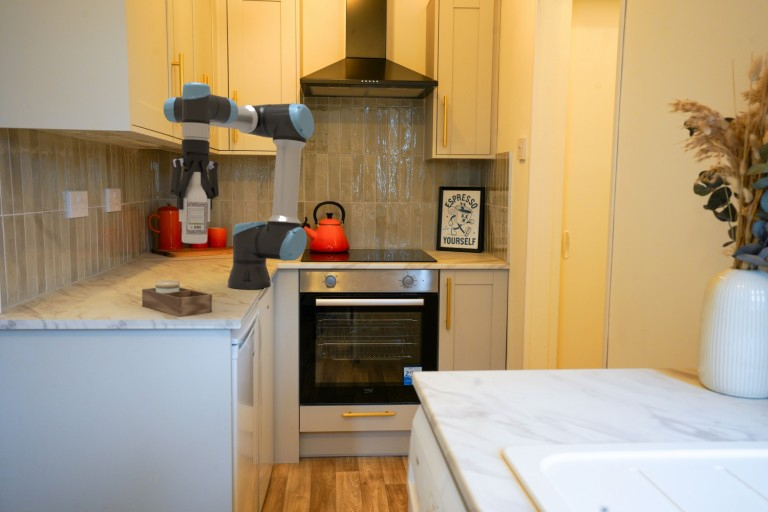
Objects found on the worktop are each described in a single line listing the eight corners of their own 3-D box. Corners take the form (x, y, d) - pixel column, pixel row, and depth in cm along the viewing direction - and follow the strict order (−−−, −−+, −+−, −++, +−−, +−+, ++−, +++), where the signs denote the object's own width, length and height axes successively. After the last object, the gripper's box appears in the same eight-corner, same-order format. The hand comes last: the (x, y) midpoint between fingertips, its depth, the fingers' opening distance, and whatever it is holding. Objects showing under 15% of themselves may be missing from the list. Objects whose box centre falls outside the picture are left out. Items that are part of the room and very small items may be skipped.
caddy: (174, 302, 202) (174, 285, 201) (211, 312, 189) (211, 294, 188) (142, 305, 194) (142, 289, 194) (179, 316, 181) (179, 298, 180)
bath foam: (211, 243, 188) (212, 172, 186) (190, 244, 183) (191, 171, 181) (198, 241, 192) (199, 172, 191) (177, 242, 187) (177, 171, 185)
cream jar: (171, 300, 199) (171, 280, 199) (184, 303, 195) (184, 282, 194) (151, 302, 194) (150, 281, 194) (163, 306, 190) (163, 284, 189)
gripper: (217, 142, 195) (216, 220, 197) (156, 136, 180) (155, 220, 182) (233, 142, 190) (231, 222, 192) (171, 135, 175) (170, 222, 177)
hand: (194, 221), depth 187 cm, fingers closed on bath foam, 7 cm apart
